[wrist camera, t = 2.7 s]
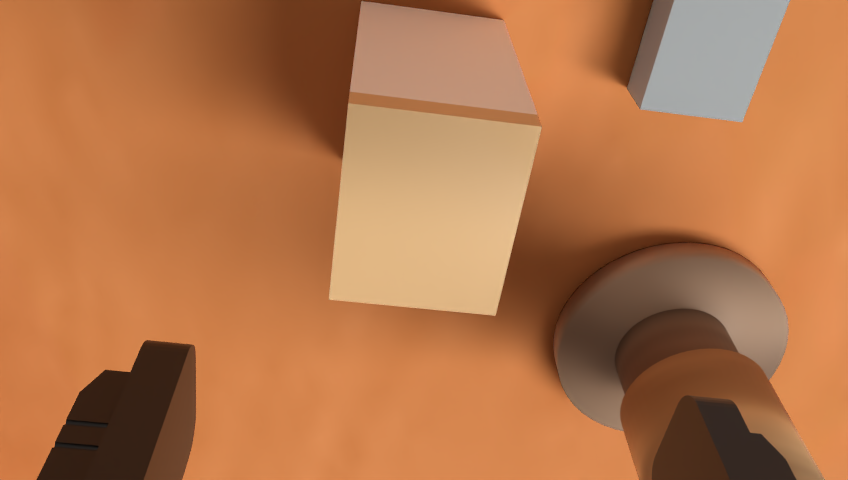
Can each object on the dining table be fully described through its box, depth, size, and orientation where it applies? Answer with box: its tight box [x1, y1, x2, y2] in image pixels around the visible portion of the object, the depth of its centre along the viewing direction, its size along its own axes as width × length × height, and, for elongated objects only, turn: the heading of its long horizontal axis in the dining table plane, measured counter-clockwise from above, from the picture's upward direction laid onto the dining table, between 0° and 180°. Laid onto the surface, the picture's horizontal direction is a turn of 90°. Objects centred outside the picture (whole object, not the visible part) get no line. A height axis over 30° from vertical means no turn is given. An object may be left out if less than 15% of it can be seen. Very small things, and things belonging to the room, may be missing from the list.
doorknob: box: [553, 242, 825, 480], centre depth 24 cm, size 8×8×12 cm
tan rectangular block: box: [329, 1, 542, 316], centre depth 20 cm, size 5×4×7 cm
